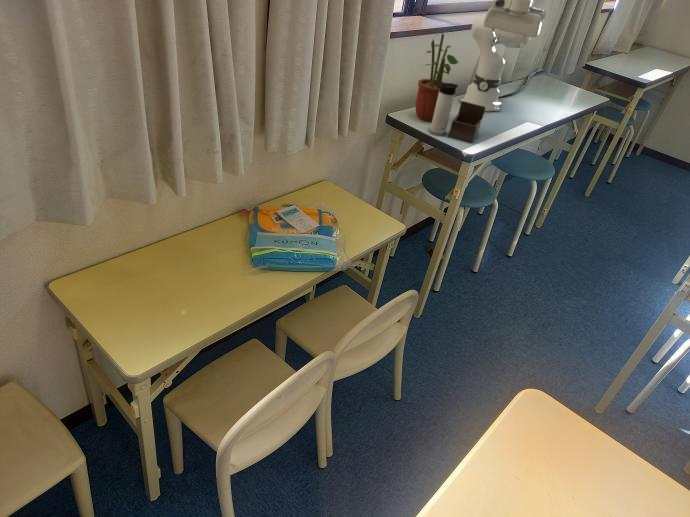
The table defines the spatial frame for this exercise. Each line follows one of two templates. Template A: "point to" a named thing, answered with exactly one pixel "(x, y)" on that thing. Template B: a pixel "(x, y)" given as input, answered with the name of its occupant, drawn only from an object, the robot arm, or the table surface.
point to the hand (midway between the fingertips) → (505, 44)
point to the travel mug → (443, 108)
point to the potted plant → (432, 83)
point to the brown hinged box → (467, 122)
